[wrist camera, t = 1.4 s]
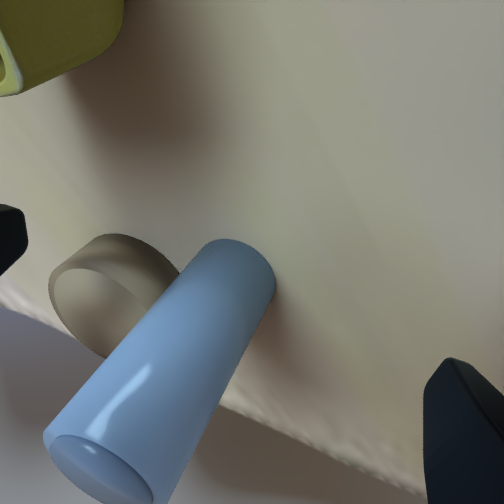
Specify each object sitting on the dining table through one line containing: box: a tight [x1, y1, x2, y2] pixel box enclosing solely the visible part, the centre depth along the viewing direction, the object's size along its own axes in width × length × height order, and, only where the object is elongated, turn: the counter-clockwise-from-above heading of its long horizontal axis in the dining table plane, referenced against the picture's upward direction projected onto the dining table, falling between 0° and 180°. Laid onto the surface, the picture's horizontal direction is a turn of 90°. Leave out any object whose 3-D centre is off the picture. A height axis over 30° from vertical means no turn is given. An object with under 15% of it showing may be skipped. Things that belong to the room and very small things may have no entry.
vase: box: [43, 239, 276, 504], centre depth 20 cm, size 5×5×13 cm
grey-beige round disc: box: [48, 234, 179, 359], centre depth 28 cm, size 9×9×4 cm
